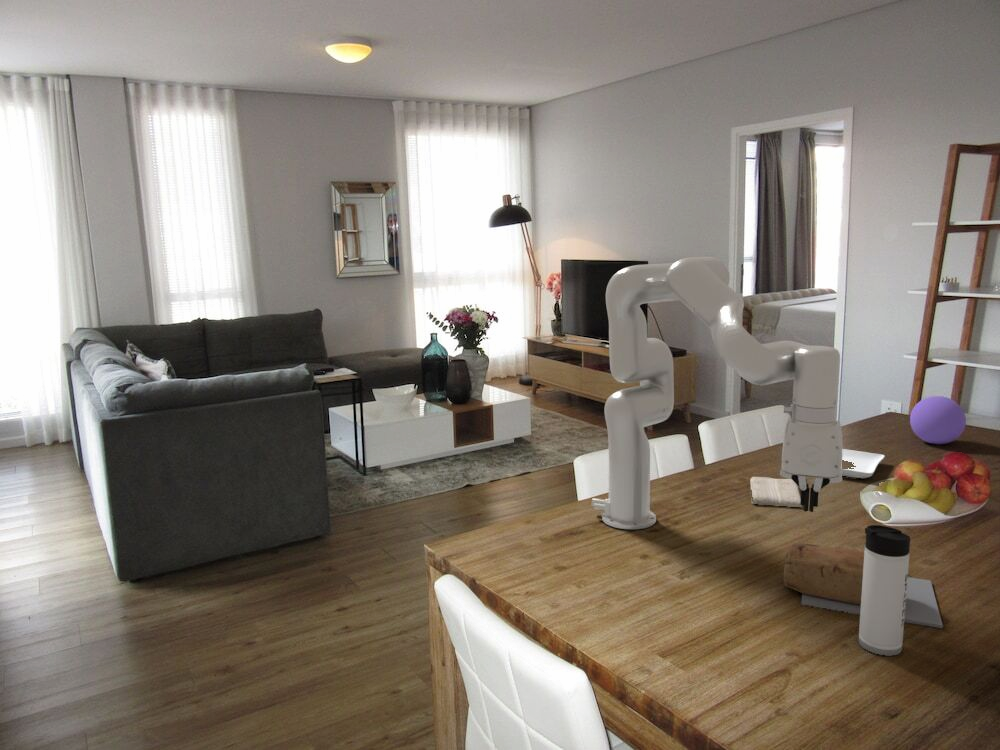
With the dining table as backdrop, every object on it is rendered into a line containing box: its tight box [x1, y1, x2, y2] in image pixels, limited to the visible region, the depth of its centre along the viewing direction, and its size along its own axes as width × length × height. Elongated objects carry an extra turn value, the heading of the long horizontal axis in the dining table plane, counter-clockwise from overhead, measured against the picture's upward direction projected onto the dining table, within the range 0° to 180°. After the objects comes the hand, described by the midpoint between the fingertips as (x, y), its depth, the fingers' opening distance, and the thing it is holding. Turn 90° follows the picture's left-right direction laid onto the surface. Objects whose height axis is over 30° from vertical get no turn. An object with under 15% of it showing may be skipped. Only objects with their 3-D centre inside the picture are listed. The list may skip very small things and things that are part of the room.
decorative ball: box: [909, 395, 967, 445], centre depth 231 cm, size 15×15×15 cm
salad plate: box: [841, 448, 885, 479], centre depth 211 cm, size 21×21×3 cm
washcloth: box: [749, 476, 803, 508], centre depth 190 cm, size 12×18×3 cm, turn 164°
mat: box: [801, 576, 944, 629], centre depth 137 cm, size 22×18×1 cm
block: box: [782, 542, 865, 605], centre depth 136 cm, size 11×8×20 cm
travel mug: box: [858, 524, 911, 657], centre depth 118 cm, size 6×7×20 cm
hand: (808, 509), depth 139 cm, fingers closed
